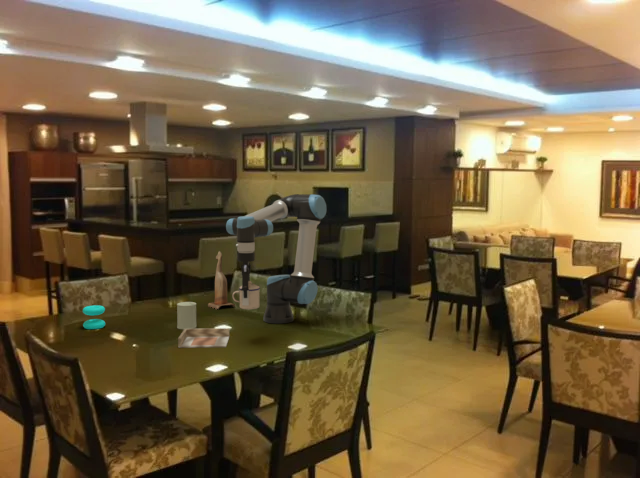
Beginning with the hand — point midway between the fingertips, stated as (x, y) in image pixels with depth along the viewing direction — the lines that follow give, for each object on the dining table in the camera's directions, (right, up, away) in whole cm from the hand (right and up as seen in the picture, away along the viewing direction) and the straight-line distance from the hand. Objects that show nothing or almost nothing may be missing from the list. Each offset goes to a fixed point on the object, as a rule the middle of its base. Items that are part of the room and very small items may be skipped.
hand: (246, 302), depth 265 cm
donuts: (-76, -15, +25) cm, 81 cm away
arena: (-18, -17, -1) cm, 25 cm away
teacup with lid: (0, -2, 0) cm, 2 cm away
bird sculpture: (-23, -10, +74) cm, 78 cm away
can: (-32, -15, +26) cm, 44 cm away
